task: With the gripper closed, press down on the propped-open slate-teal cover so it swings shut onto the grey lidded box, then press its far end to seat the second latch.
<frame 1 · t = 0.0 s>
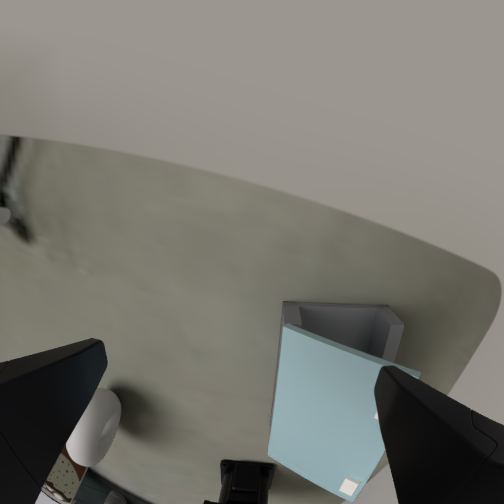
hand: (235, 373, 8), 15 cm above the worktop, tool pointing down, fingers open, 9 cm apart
flask: (120, 503, 36), on the worktop
food container: (63, 447, 33), on the worktop
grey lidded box: (325, 373, 24), on the worktop
cover: (325, 430, 17), point 7 cm above the worktop, hinge at 40.0°
donut: (114, 400, 28), on the worktop
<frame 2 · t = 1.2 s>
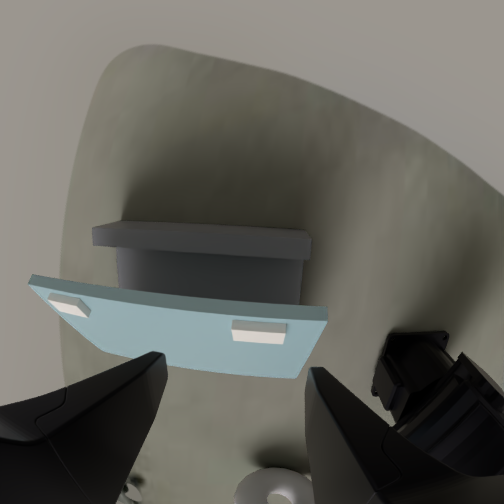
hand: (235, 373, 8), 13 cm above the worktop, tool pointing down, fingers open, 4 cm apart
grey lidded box: (204, 284, 21), on the worktop
cover: (173, 344, 14), point 7 cm above the worktop, hinge at 40.0°
donut: (281, 468, 26), on the worktop
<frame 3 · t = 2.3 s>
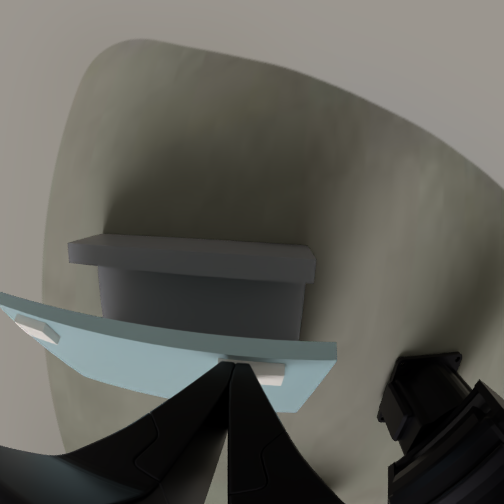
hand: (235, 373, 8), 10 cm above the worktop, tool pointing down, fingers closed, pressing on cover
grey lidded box: (194, 305, 19), on the worktop
cover: (154, 377, 12), point 7 cm above the worktop, hinge at 37.7°, touching gripper
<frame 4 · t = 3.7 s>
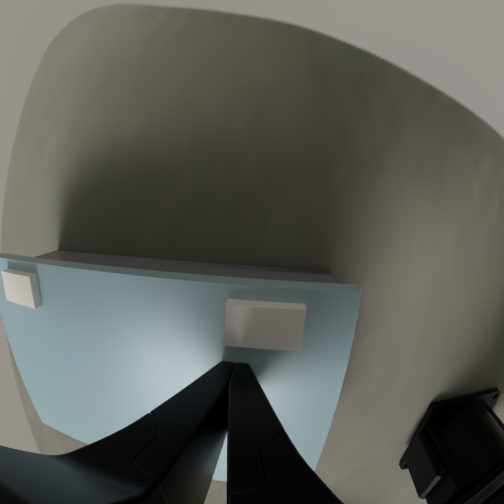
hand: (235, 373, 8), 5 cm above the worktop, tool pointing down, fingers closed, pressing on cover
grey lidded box: (173, 347, 13), on the worktop
cover: (132, 395, 9), point 5 cm above the worktop, hinge at 1.7°, touching gripper
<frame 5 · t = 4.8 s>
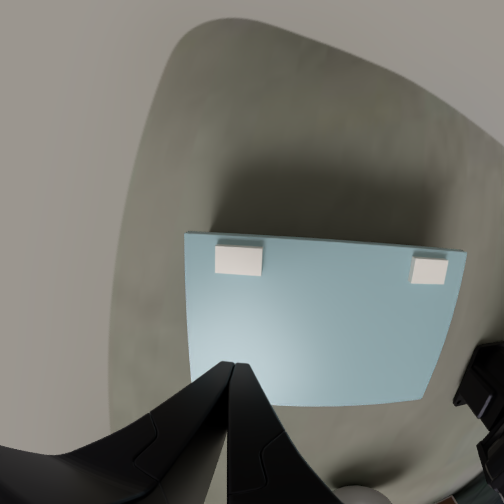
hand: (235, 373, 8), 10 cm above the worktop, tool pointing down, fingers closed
cover: (329, 336, 13), point 5 cm above the worktop, hinge at 1.7°
donut: (352, 485, 22), on the worktop
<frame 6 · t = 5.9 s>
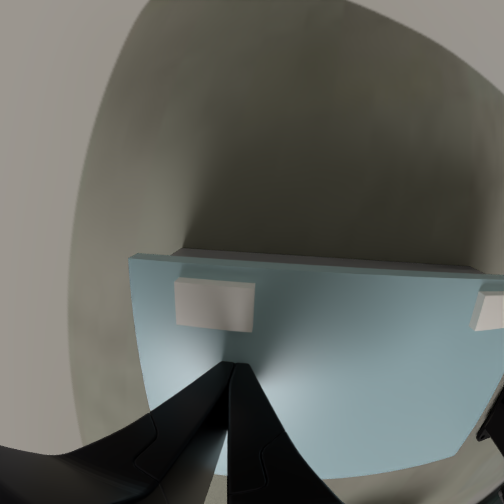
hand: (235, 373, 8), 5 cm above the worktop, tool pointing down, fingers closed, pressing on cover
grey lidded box: (330, 350, 13), on the worktop
cover: (353, 407, 8), point 5 cm above the worktop, hinge at 1.1°, touching gripper
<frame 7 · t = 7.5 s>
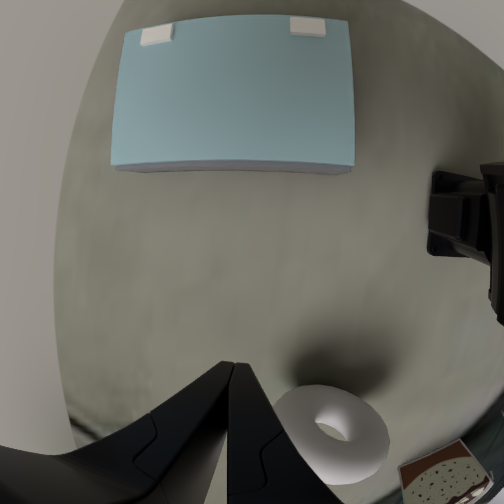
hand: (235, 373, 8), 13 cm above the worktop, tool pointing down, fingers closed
food container: (427, 462, 25), on the worktop
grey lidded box: (237, 108, 18), on the worktop
cover: (227, 79, 14), point 5 cm above the worktop, hinge at 0.9°
donut: (324, 390, 23), on the worktop
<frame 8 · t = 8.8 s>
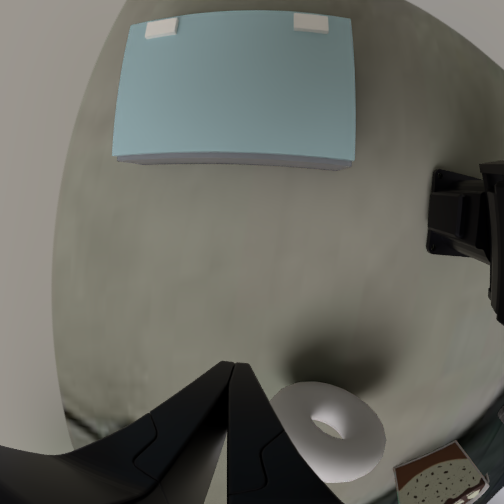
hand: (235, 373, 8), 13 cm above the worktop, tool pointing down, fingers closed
food container: (423, 464, 25), on the worktop
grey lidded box: (239, 103, 18), on the worktop
cover: (229, 73, 14), point 5 cm above the worktop, hinge at 0.9°
donut: (320, 388, 23), on the worktop
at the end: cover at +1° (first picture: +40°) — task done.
